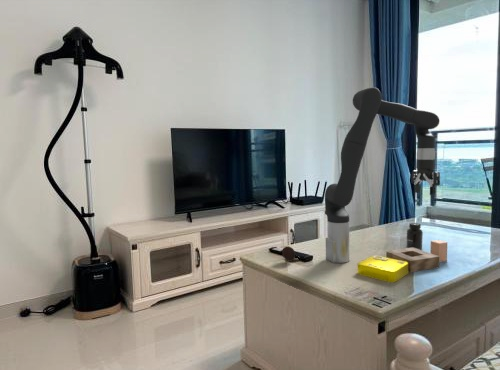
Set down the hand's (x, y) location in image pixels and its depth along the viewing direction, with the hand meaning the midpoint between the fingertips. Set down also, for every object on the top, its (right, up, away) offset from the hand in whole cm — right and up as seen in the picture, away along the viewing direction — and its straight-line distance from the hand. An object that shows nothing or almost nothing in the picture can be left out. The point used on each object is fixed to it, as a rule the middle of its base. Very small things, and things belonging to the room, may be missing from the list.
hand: (424, 193), depth 162 cm
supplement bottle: (-2, -26, +5) cm, 27 cm away
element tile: (-28, -31, -24) cm, 48 cm away
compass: (-62, -29, -5) cm, 69 cm away
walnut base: (-13, -29, -16) cm, 35 cm away
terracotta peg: (0, -28, -12) cm, 30 cm away
